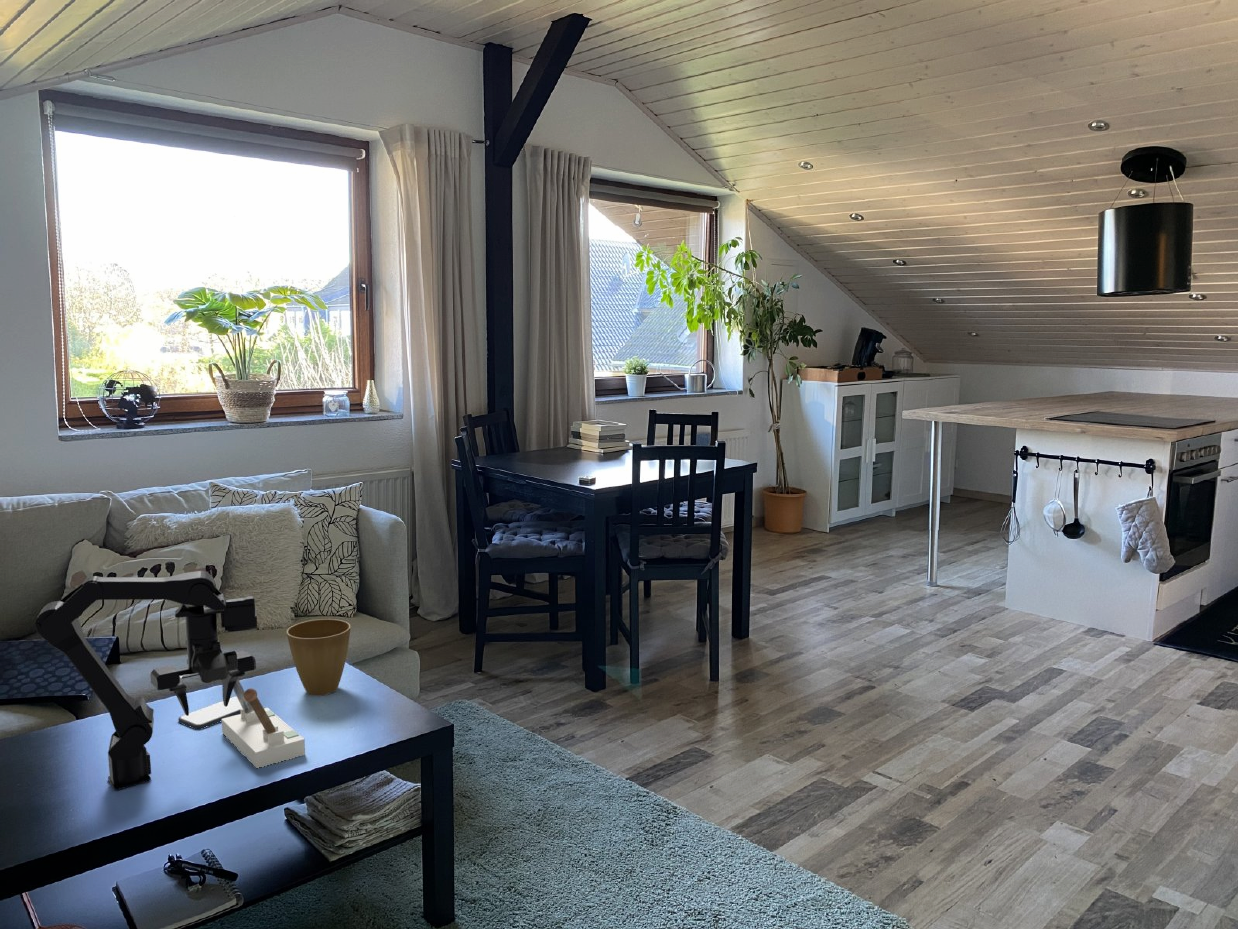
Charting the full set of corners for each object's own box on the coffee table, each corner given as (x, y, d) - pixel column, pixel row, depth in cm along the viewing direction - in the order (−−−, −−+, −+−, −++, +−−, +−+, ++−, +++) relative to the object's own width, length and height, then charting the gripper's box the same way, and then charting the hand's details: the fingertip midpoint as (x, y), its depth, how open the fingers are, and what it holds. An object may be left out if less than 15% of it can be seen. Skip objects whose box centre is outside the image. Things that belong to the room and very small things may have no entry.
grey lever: (246, 719, 206) (224, 674, 202) (242, 715, 208) (220, 671, 204) (257, 712, 207) (236, 668, 203) (253, 708, 209) (232, 665, 205)
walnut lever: (269, 740, 195) (243, 695, 191) (265, 736, 197) (239, 692, 193) (280, 732, 196) (255, 688, 192) (276, 728, 198) (251, 684, 194)
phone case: (198, 733, 210) (261, 708, 223) (197, 726, 210) (261, 702, 223) (176, 724, 215) (239, 700, 228) (175, 717, 215) (238, 694, 228)
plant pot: (281, 689, 235) (277, 626, 232) (339, 675, 244) (336, 615, 242) (302, 707, 223) (299, 641, 221) (362, 692, 232) (360, 629, 230)
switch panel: (256, 769, 191) (255, 743, 190) (222, 734, 208) (220, 710, 207) (305, 755, 197) (304, 730, 197) (268, 722, 214) (266, 699, 213)
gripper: (163, 655, 176) (168, 735, 179) (263, 636, 188) (267, 711, 190) (147, 641, 185) (152, 717, 187) (244, 623, 197) (248, 695, 199)
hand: (206, 710), depth 191 cm, fingers open, 7 cm apart
